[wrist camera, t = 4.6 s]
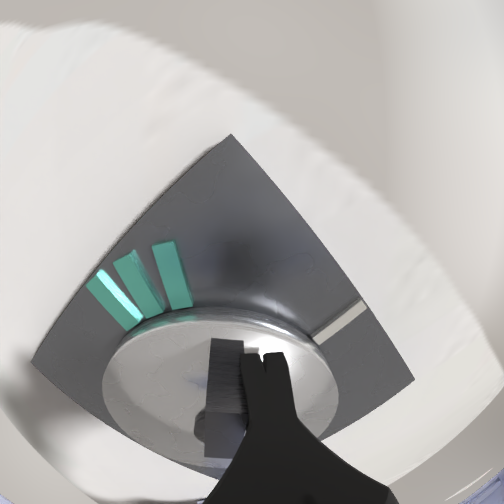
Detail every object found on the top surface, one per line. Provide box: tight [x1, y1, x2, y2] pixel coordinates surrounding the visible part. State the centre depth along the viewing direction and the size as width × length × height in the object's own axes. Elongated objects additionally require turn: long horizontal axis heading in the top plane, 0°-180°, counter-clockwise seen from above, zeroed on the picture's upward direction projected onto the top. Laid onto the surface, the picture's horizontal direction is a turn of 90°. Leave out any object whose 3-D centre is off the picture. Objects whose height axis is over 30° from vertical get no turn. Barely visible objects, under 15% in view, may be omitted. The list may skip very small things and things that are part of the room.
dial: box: [102, 307, 339, 468], centre depth 10 cm, size 12×12×5 cm
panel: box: [31, 134, 415, 480], centre depth 13 cm, size 18×18×2 cm
